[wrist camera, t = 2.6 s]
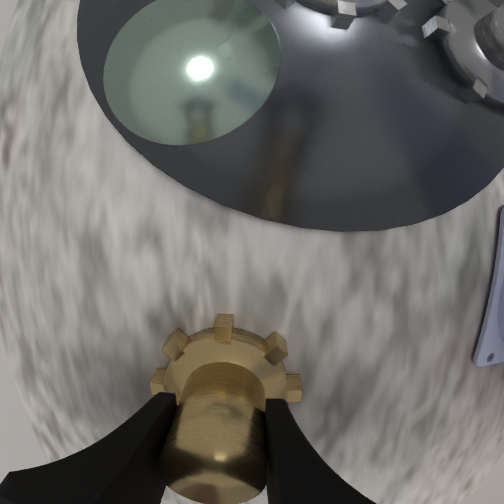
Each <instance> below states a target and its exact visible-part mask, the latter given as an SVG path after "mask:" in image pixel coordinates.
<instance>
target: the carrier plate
mask: <svg viewBox="0 0 504 504" xmlns="http://www.w3.org/2000/svg"><path fill="white" fill-rule="evenodd" d="M77 41H78V48H79V54H80V59H81V65H82V68H83V70H84V73H85V76H86V79H87V81H88V84H89V87H90V89H91V91H92V93H93V95H94V97H95V98H96V100H97V102H98V104H99V105H100V107H101V109H102V110H103V112H104V114H105V116H106V117H107V118H108V119H109V121H110V122H111V123H112V124H113V125H114V127H115V128H116V129H117V130H118V131H119V133H120V134H121V135H122V136H123V137H124V139H125V140H126V141H127V142H128V143H129V144H130V145H131V146H132V147H134V148H135V149H136V150H137V151H138V152H139V153H140V154H141V155H143V156H144V157H145V158H146V159H147V160H148V161H149V162H150V163H152V164H153V165H154V166H155V167H157V168H158V169H160V170H161V171H163V172H164V173H166V174H167V175H169V176H170V177H172V178H173V179H175V180H176V181H178V182H179V183H181V184H182V185H184V186H185V187H187V188H189V189H191V190H193V191H195V192H197V193H199V194H201V195H203V196H205V197H207V198H209V199H211V200H213V201H215V202H217V203H219V204H221V205H224V206H227V207H230V208H233V209H235V210H238V211H241V212H244V213H247V214H250V215H252V216H255V217H258V218H261V219H265V220H269V221H274V222H278V223H283V224H287V225H292V226H296V227H301V228H309V229H320V230H330V231H340V232H347V231H378V230H384V229H390V228H396V227H402V226H407V225H413V224H416V223H419V222H422V221H425V220H428V219H431V218H434V217H437V216H439V215H442V214H444V213H446V212H448V211H450V210H452V209H454V208H456V207H457V206H459V205H461V204H463V203H465V202H467V201H468V200H469V199H471V198H472V197H473V196H475V195H476V194H477V193H478V192H480V191H481V190H482V189H484V188H485V187H486V186H487V185H488V184H489V183H490V182H491V181H492V180H493V179H494V178H495V177H496V176H497V174H498V173H499V172H500V171H501V170H502V169H503V168H504V0H80V5H79V10H78V17H77Z"/></svg>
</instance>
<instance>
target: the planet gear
mask: <svg viewBox="0 0 504 504" xmlns="http://www.w3.org/2000/svg"><path fill="white" fill-rule="evenodd" d="M162 351H163V352H164V353H165V354H166V355H167V356H169V357H170V358H171V361H170V363H169V365H168V367H167V369H161V368H157V370H156V372H155V374H154V376H153V378H152V380H151V382H150V387H151V393H152V395H156V394H157V393H158V392H167V393H175V394H176V401H177V409H176V412H175V415H174V418H173V420H172V423H171V426H170V429H169V432H168V435H167V438H166V441H165V443H164V446H163V449H162V452H161V455H160V458H159V461H158V466H157V469H158V473H159V475H160V477H161V479H162V480H163V482H164V483H165V484H166V485H167V486H168V487H169V488H170V489H172V490H173V491H175V492H176V493H178V494H180V495H181V496H183V497H186V498H188V499H191V500H193V501H197V502H201V503H205V504H238V503H242V502H245V501H248V500H251V499H252V498H254V497H256V496H257V495H259V494H260V493H261V492H262V491H263V489H264V488H265V486H266V482H267V462H266V433H265V403H266V398H283V399H284V400H285V401H286V403H287V402H301V399H302V391H303V390H302V385H301V380H300V375H299V374H292V375H286V371H285V366H284V363H283V361H282V360H283V359H284V358H285V357H287V356H288V352H287V346H286V341H285V340H284V339H283V338H282V337H281V336H280V335H279V334H278V333H277V332H276V331H275V332H274V333H273V334H272V335H271V336H269V337H268V338H267V339H266V340H264V339H263V338H261V337H259V336H258V335H255V334H253V333H251V332H248V331H245V330H242V329H237V328H234V315H230V314H218V317H217V320H216V323H215V326H214V328H210V329H206V330H202V331H200V332H197V333H195V334H193V335H191V336H190V337H188V336H187V335H186V334H185V333H184V332H182V331H181V330H180V329H179V328H177V329H176V330H175V331H174V332H173V333H172V334H171V335H170V336H169V337H168V339H167V341H166V343H165V344H164V346H163V348H162Z"/></svg>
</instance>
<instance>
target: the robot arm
mask: <svg viewBox="0 0 504 504" xmlns="http://www.w3.org/2000/svg"><path fill="white" fill-rule="evenodd" d="M473 362H474V364H475V365H476V366H478V367H484V366H488V365H493V364H497V363H501V362H504V207H503V208H502V210H501V216H500V228H499V238H498V246H497V254H496V261H495V267H494V274H493V279H492V285H491V290H490V295H489V300H488V305H487V309H486V314H485V318H484V322H483V326H482V330H481V333H480V337H479V341H478V344H477V348H476V351H475V355H474V358H473ZM176 409H177V401H176V394H175V393H167V392H158V393H157V394H156V395H155V396H154V397H153V398H152V399H151V400H149V401H148V402H147V403H146V404H145V405H144V406H143V407H142V408H141V409H140V410H138V411H137V412H136V413H135V414H134V415H133V416H132V417H130V418H129V419H128V420H127V421H126V422H124V423H123V424H122V425H121V426H119V427H118V428H117V429H115V430H114V431H113V432H111V433H110V434H108V435H107V436H106V437H104V438H103V439H101V440H99V441H98V442H96V443H94V444H93V445H91V446H89V447H87V448H85V449H83V450H81V451H79V452H77V453H75V454H72V455H70V456H68V457H66V458H63V459H61V460H58V461H55V462H52V463H49V464H46V465H42V466H39V467H34V468H30V469H24V470H19V471H13V472H9V473H8V474H7V476H6V477H5V478H4V480H3V481H2V483H1V484H0V504H160V503H161V499H162V496H163V493H164V491H165V488H166V484H165V483H164V482H163V480H162V479H161V477H160V475H159V473H158V469H157V466H158V461H159V458H160V455H161V452H162V449H163V446H164V443H165V441H166V438H167V435H168V432H169V429H170V426H171V423H172V420H173V418H174V415H175V412H176ZM265 433H266V462H267V482H266V486H267V495H268V503H269V504H376V503H375V502H373V501H371V500H370V499H368V498H367V497H365V496H364V495H362V494H361V493H360V492H358V491H357V490H356V489H354V488H353V487H352V486H351V485H349V484H348V483H347V482H345V481H344V480H343V479H342V478H341V477H340V476H339V475H338V474H336V473H335V472H334V471H333V470H332V469H331V468H330V467H329V466H328V465H327V464H326V462H325V461H324V460H323V459H322V458H321V457H320V456H319V454H318V453H317V452H316V451H315V449H314V448H313V447H312V446H311V444H310V443H309V441H308V440H307V439H306V437H305V436H304V434H303V433H302V431H301V430H300V428H299V426H298V425H297V423H296V421H295V419H294V418H293V416H292V414H291V412H290V410H289V408H288V405H287V403H286V401H285V400H284V399H283V398H266V403H265Z"/></svg>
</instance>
